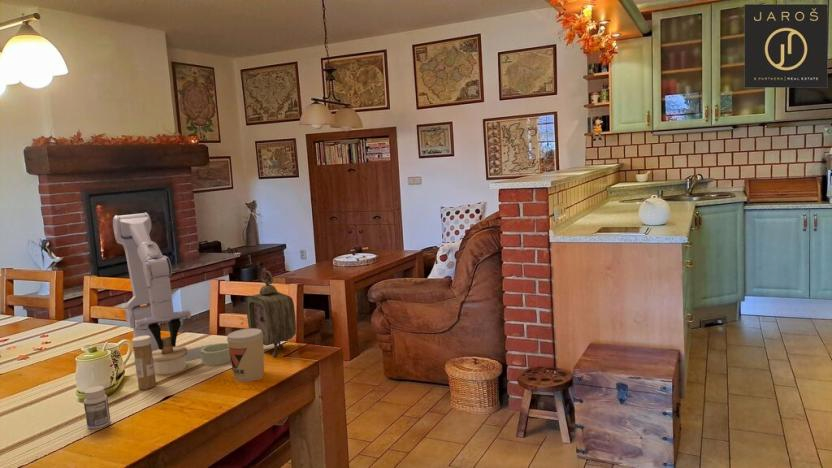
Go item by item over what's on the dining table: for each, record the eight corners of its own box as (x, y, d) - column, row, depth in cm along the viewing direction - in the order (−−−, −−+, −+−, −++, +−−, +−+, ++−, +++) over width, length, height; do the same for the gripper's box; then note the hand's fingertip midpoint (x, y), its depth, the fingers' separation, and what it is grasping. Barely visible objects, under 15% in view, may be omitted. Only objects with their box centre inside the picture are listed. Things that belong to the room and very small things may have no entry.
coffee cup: (224, 378, 161) (219, 334, 159) (255, 368, 168) (250, 326, 166) (243, 385, 154) (238, 340, 153) (274, 374, 161) (269, 331, 160)
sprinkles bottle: (158, 386, 158) (152, 337, 156) (139, 391, 155) (133, 341, 154) (155, 382, 162) (148, 333, 160) (136, 386, 159) (130, 337, 157)
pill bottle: (92, 421, 138) (88, 386, 137) (114, 419, 138) (109, 384, 137) (83, 430, 133) (78, 394, 132) (105, 428, 134) (100, 392, 133)
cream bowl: (149, 369, 172) (147, 356, 172) (181, 362, 177) (180, 349, 177) (156, 377, 165) (154, 363, 164) (190, 369, 170) (188, 355, 170)
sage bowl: (196, 363, 176) (194, 349, 175) (223, 354, 182) (221, 341, 182) (213, 368, 170) (211, 354, 169) (240, 358, 177) (239, 345, 176)
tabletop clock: (250, 350, 185) (242, 270, 182) (277, 343, 190) (269, 265, 187) (273, 359, 174) (264, 275, 171) (300, 351, 180) (292, 269, 176)
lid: (146, 354, 173) (144, 337, 172) (185, 347, 178) (183, 330, 177) (149, 364, 164) (147, 346, 163) (189, 356, 168) (187, 339, 168)
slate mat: (176, 353, 186) (175, 352, 186) (211, 345, 193) (211, 344, 193) (186, 362, 177) (186, 361, 177) (223, 353, 183) (223, 352, 183)
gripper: (136, 307, 161) (142, 356, 163) (191, 297, 170) (196, 344, 171) (131, 303, 167) (137, 351, 169) (184, 294, 175) (190, 339, 177)
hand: (166, 347), depth 170 cm, fingers closed on lid, 3 cm apart
